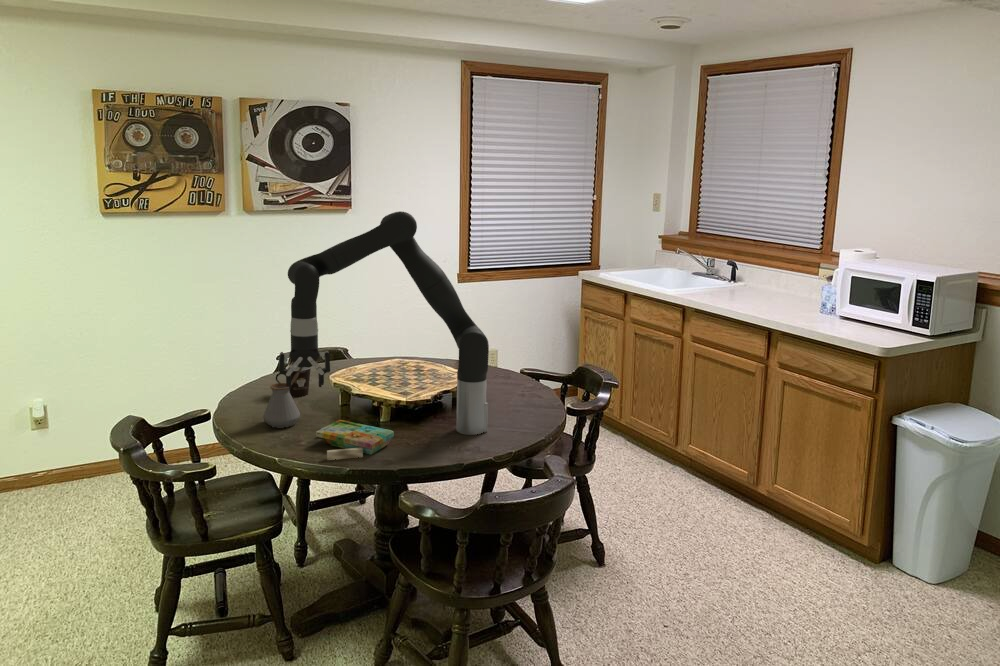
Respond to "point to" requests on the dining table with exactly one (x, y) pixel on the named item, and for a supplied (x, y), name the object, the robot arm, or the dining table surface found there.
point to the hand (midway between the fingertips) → (305, 387)
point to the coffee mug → (299, 382)
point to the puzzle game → (355, 436)
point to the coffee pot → (282, 406)
